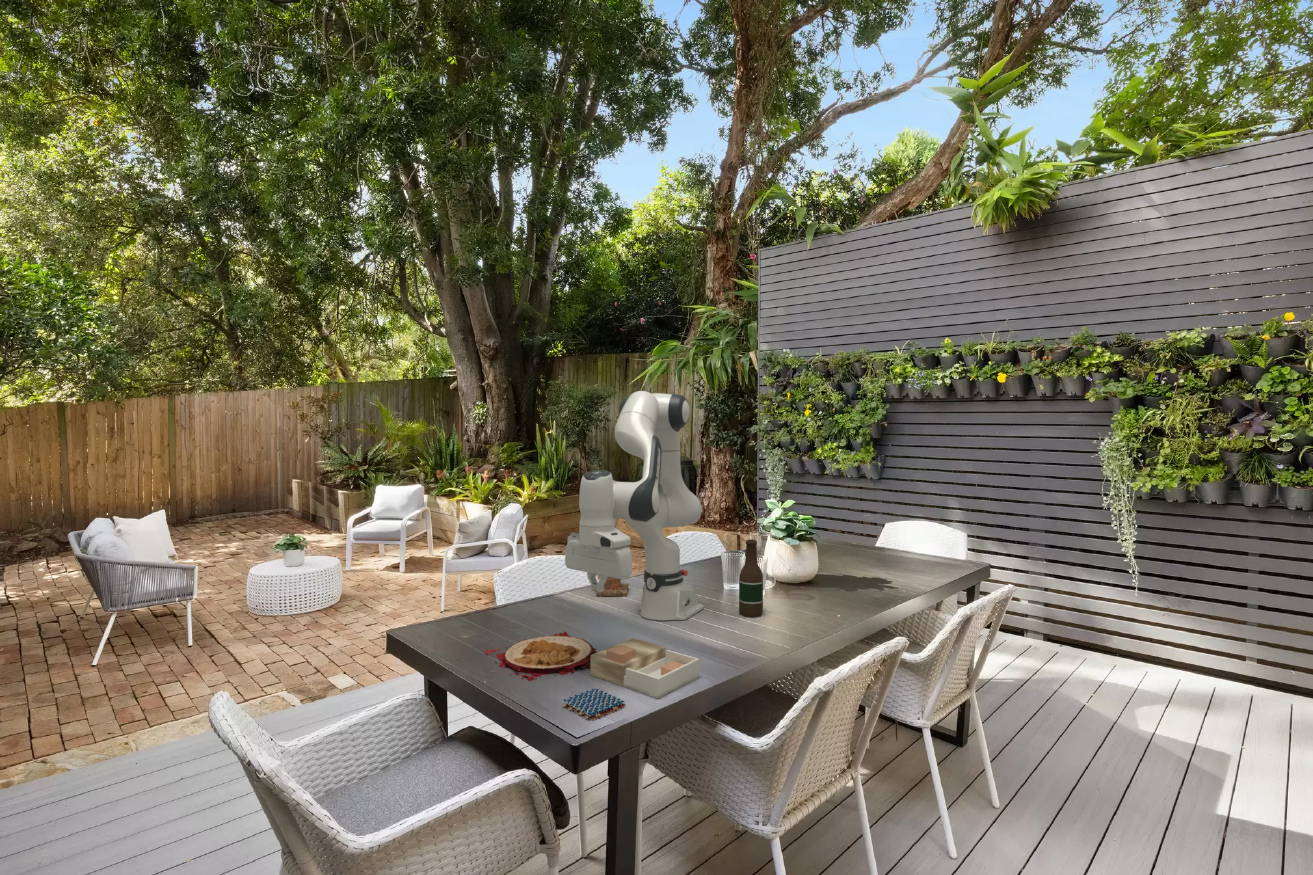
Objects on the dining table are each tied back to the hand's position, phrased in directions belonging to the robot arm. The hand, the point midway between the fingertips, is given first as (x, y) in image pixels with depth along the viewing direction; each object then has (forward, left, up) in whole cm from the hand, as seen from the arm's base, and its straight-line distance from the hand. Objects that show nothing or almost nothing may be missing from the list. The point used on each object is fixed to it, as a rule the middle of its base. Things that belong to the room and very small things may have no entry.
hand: (597, 590), depth 166 cm
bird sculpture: (-56, -46, -20) cm, 75 cm away
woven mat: (+15, +14, -21) cm, 29 cm away
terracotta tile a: (-9, +18, -18) cm, 26 cm away
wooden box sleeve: (-5, +6, -20) cm, 22 cm away
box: (-5, +17, -20) cm, 27 cm away
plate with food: (+2, -16, -21) cm, 27 cm away
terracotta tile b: (0, +8, -15) cm, 17 cm away
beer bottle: (-65, +6, -20) cm, 68 cm away
